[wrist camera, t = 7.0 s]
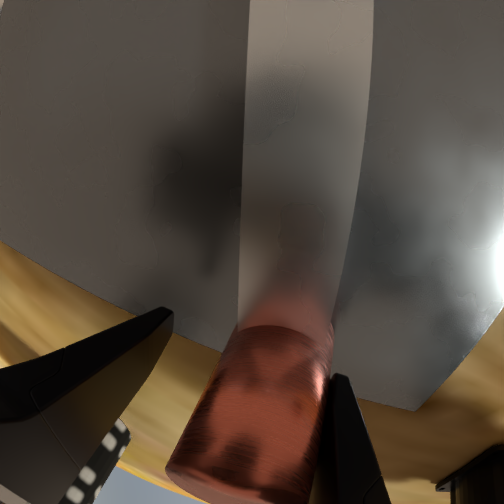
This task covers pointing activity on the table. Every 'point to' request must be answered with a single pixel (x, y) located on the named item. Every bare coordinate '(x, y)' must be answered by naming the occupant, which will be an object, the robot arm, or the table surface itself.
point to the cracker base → (230, 173)
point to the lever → (285, 254)
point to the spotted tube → (98, 467)
